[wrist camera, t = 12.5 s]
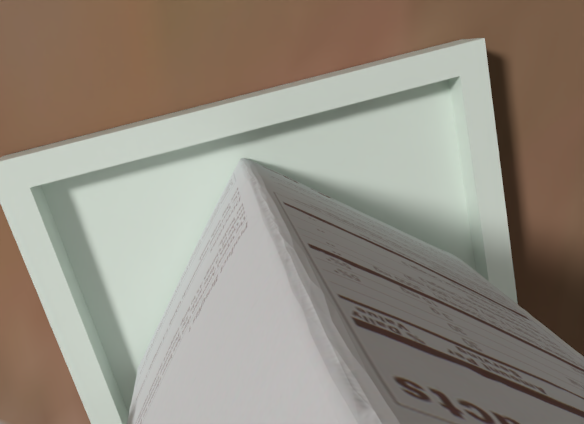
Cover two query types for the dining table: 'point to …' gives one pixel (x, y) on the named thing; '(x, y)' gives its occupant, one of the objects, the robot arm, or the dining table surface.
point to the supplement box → (342, 326)
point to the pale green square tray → (215, 175)
